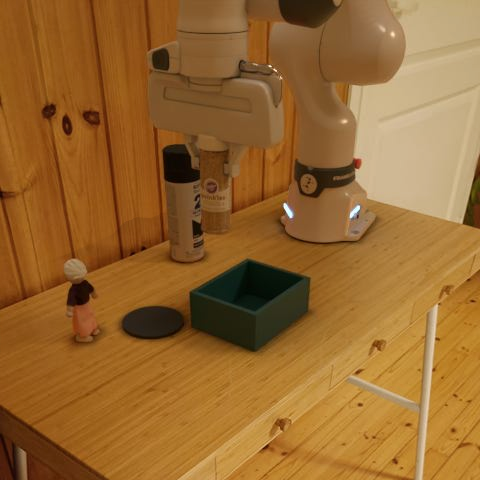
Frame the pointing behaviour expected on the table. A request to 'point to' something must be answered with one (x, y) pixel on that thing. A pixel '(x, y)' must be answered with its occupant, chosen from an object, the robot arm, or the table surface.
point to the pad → (153, 322)
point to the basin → (249, 303)
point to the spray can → (183, 204)
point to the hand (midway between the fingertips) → (215, 172)
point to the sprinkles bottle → (214, 185)
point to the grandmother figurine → (80, 301)
